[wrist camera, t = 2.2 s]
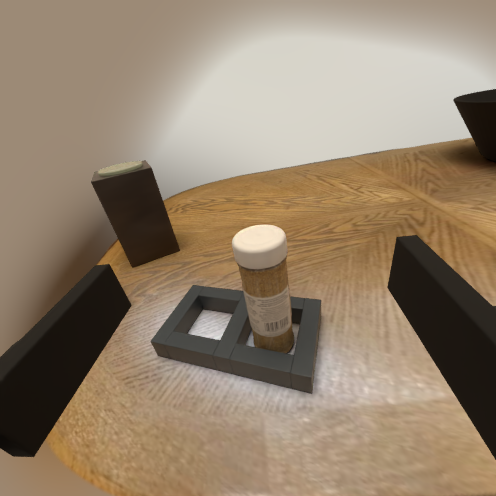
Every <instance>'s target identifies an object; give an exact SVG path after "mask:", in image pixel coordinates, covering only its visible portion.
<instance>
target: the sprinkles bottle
mask: <svg viewBox="0 0 496 496" xmlns="http://www.w3.org/2000/svg"><path fill="white" fill-rule="evenodd" d="M232 247H233V252H234V257H235V260H236V262H237V264H238V266H239V270H240V275H241V279H242V287H243V291H244V296H245V301H246V305H247V310H248V315H249V320H250V325H251V327H252V332H253V336H254V338H253V339H254V345H255V347H256V348H261V349H266V350H271V351H276V352H281V353H287V352H288V351H289V350H290V349H291V348H292V346H293V343H294V334H293V331H292V320H291V316H292V312H291V300H290V293H289V284H288V274H287V265H286V257H287V241H286V235H285V233H284V231H283V230H282V229H281V228H279V227H276V226H273V225H256V226H251V227H248V228H245V229H243V230H241V231H240V232H238V233H237V234H236V235H235V236H234V238H233V240H232Z"/></svg>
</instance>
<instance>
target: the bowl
mask: <svg viewBox="0 0 496 496" xmlns="http://www.w3.org/2000/svg"><path fill="white" fill-rule="evenodd" d="M454 102H455V104H456V106H457V108H458V110H459V112H460V114H461V116H462V118H463V120H464V122H465V124H466V126H467V128H468V130H469V132H470V134H471V136H472V138H473V140H474V142H475V144H476V146H477V147H478V149H479V151H480V153H481V154H482V155H483V156H484V157H485V158H487V159H490V160H493V161H496V89H493V90H487V91H482V92H476V93H471V94H467V95H462V96H459V97H457V98H455V99H454Z"/></svg>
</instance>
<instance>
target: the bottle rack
mask: <svg viewBox="0 0 496 496" xmlns="http://www.w3.org/2000/svg"><path fill="white" fill-rule="evenodd" d="M290 300H291V312H292V316H291V320H292V323H299V324H300V327H299V332H298V337H297V342H296V347H295V352H294V355H291V354H286V353H281V352H276V351H271V350H266V349H261V348H256V347H251V346H246V345H245V344H246V342H247V339H248V337H249V334H250V331H251V329H252V327H251V325H250V320H249V315H248V310H247V305H246V301H245V296H244V291H239V290H231V289H222V288H214V287H204V286H197V285H193V286H192V287H191V289H190V290H189V291H188V292H187V294H186V295H185V296H184V298H183V299H182V300H181V302H180V303H179V304H178V306H177V307H176V308H175V310H174V311H173V312H172V314H171V315H170V316H169V318H168V319H167V320H166V322H165V323H164V324H163V326H162V327H161V328H160V330H159V331H158V332H157V333H156V335H155V336H154V337H153V339H152V340H151V343H152V345H153V347H154V349H155V351H156V353H157V354H158V356H162V357H166V358H170V359H174V360H178V361H182V362H186V363H190V364H194V365H198V366H203V367H207V368H211V369H215V370H219V371H223V372H227V373H231V374H235V375H239V376H243V377H247V378H251V379H255V380H259V381H263V382H267V383H271V384H275V385H279V386H284V387H288V388H292V389H296V390H300V391H304V392H308V393H312V390H313V381H314V372H315V364H316V355H317V346H318V337H319V329H320V320H321V300H317V299H309V298H299V297H290ZM202 309H207V310H214V311H220V312H227V313H233V315H232V317H231V320H230V322H229V324H228V326H227V328H226V330H225V332H224V334H223V336H222V338H221V340H215V339H210V338H205V337H200V336H195V335H190V334H187V333H188V331H189V329H190V328H191V326H192V325H193V323H194V322H195V320H196V318H197V317H198V315H199V314H200V312H201V311H202Z"/></svg>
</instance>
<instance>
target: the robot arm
mask: <svg viewBox="0 0 496 496" xmlns="http://www.w3.org/2000/svg"><path fill="white" fill-rule="evenodd" d="M388 289H389V291H390V292H391V294H392V296H393V297H394V299H395V300H396V302H397V303H398V305H399V307H400V308H401V310H402V311H403V313H404V315H405V316H406V318H407V319H408V321H409V323H410V324H411V326H412V327H413V329H414V331H415V332H416V334H417V335H418V337H419V338H420V340H421V342H422V343H423V345H424V346H425V348H426V350H427V351H428V353H429V354H430V356H431V358H432V359H433V361H434V362H435V364H436V366H437V367H438V369H439V370H440V372H441V374H442V375H443V377H444V378H445V380H446V381H447V383H448V385H449V386H450V388H451V389H452V391H453V393H454V394H455V396H456V397H457V399H458V401H459V402H460V404H461V405H462V407H463V409H464V410H465V412H466V413H467V415H468V416H469V418H470V420H471V421H472V423H473V424H474V426H475V428H476V429H477V431H478V432H479V434H480V436H481V437H482V439H483V440H484V442H485V444H486V445H487V447H488V448H489V450H490V451H491V453H492V455H493V456H494V458H495V459H496V306H492V305H491V304H490V303H489V302H488V301H487V300H486V299H484V298H483V297H482V296H481V295H480V294H479V293H478V292H477V291H476V290H475V289H474V288H473V287H472V286H471V285H469V284H468V283H467V282H466V281H465V280H464V279H463V278H462V277H461V276H460V275H459V274H458V273H457V272H455V271H454V270H453V269H452V268H451V267H450V266H449V265H448V264H447V263H446V262H445V261H444V260H443V259H442V258H440V257H439V256H438V255H437V254H436V253H435V252H434V251H433V250H432V249H431V248H430V247H429V246H428V245H427V244H425V243H424V242H423V241H422V240H421V239H420V238H419V237H418V236H417V235H413V236H403V237H397V238H396V244H395V249H394V255H393V260H392V266H391V271H390V277H389V282H388ZM130 307H131V303H130V301H129V300H128V298H127V296H126V294H125V292H124V290H123V288H122V287H121V285H120V283H119V281H118V279H117V277H116V275H115V274H114V272H113V270H112V268H111V266H110V264H106V265H96V266H94V267H93V268H92V269H91V270H90V271H89V272H88V273H87V274H86V275H85V276H84V277H83V278H82V279H81V280H80V281H79V282H78V283H77V284H76V285H75V286H74V287H73V288H72V289H71V290H70V291H69V292H68V293H67V294H66V295H65V296H64V297H63V298H62V299H61V300H60V301H59V302H58V303H57V304H56V305H55V306H54V307H53V308H52V309H51V310H50V311H49V312H48V313H47V314H46V315H45V316H44V317H43V318H42V319H41V320H40V321H39V322H38V323H37V324H36V325H35V326H34V327H33V328H32V329H31V330H30V331H29V332H28V333H27V334H26V335H25V336H24V337H23V338H22V339H20V340H19V341H17V342H16V343H15V344H14V345H12V346H11V347H10V348H9V349H8V350H7V351H6V352H5V353H4V354H3V355H2V356H1V357H0V448H1V449H2V450H4V451H6V452H7V453H9V454H10V455H12V456H18V457H34V456H35V454H36V453H37V451H38V450H39V448H40V447H41V445H42V444H43V442H44V440H45V439H46V437H47V436H48V434H49V433H50V431H51V430H52V428H53V427H54V425H55V423H56V422H57V420H58V419H59V417H60V416H61V414H62V413H63V411H64V409H65V408H66V406H67V405H68V403H69V402H70V400H71V399H72V397H73V395H74V394H75V392H76V391H77V389H78V388H79V386H80V385H81V383H82V382H83V380H84V378H85V377H86V375H87V374H88V372H89V371H90V369H91V368H92V366H93V364H94V363H95V361H96V360H97V358H98V357H99V355H100V354H101V352H102V350H103V349H104V347H105V346H106V344H107V343H108V341H109V340H110V338H111V337H112V335H113V333H114V332H115V330H116V329H117V327H118V326H119V324H120V323H121V321H122V319H123V318H124V316H125V315H126V313H127V312H128V310H129V309H130Z"/></svg>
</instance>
